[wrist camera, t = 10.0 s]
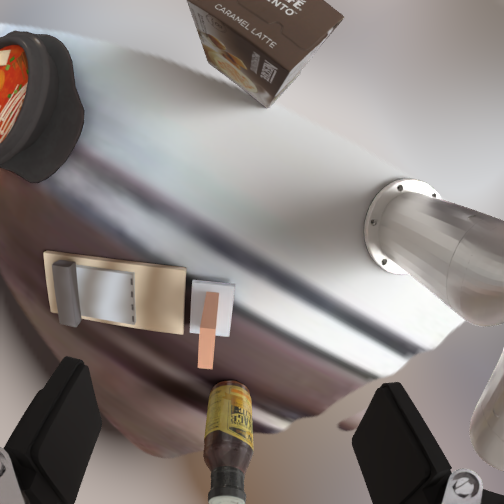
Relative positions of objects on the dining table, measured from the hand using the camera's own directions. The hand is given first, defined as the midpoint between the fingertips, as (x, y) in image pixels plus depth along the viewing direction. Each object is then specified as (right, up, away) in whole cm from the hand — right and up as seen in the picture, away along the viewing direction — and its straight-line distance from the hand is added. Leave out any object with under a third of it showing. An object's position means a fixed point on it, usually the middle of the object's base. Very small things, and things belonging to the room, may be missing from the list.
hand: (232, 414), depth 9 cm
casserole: (-29, +25, +20) cm, 44 cm away
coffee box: (+1, +26, +22) cm, 34 cm away
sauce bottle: (-3, -16, +35) cm, 39 cm away
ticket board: (-18, 0, +29) cm, 34 cm away
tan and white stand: (-4, -2, +29) cm, 29 cm away
